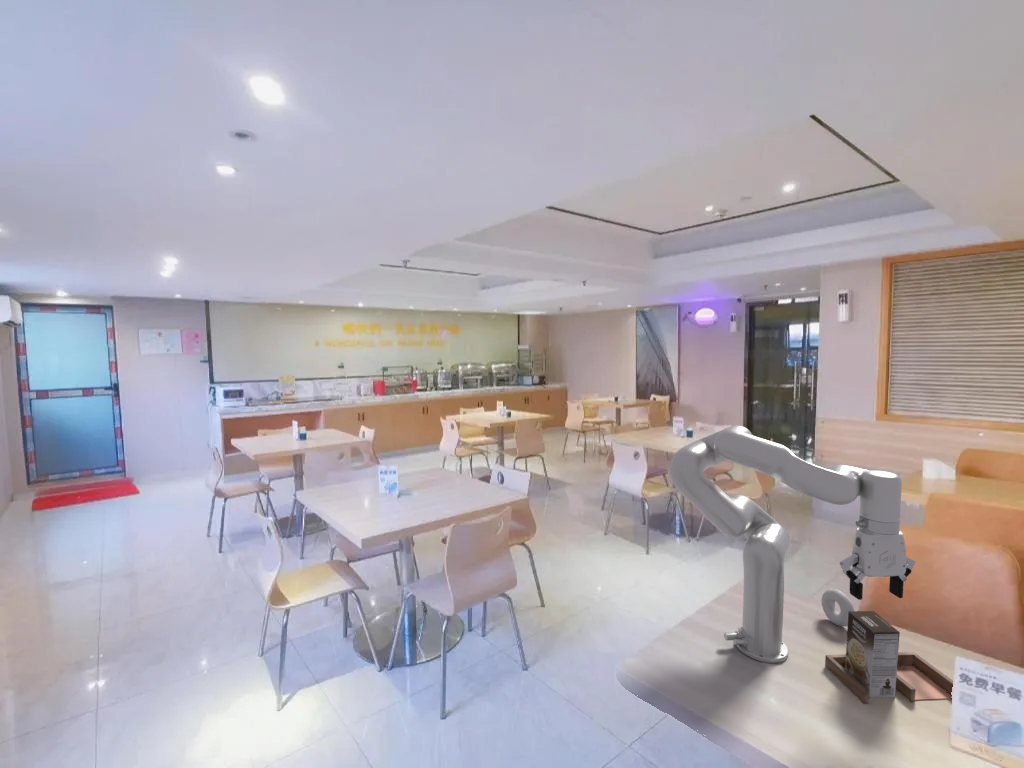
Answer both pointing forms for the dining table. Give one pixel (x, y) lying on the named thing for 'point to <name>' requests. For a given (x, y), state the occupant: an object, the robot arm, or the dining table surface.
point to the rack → (899, 678)
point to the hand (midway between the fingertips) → (875, 596)
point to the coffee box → (872, 652)
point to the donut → (830, 609)
